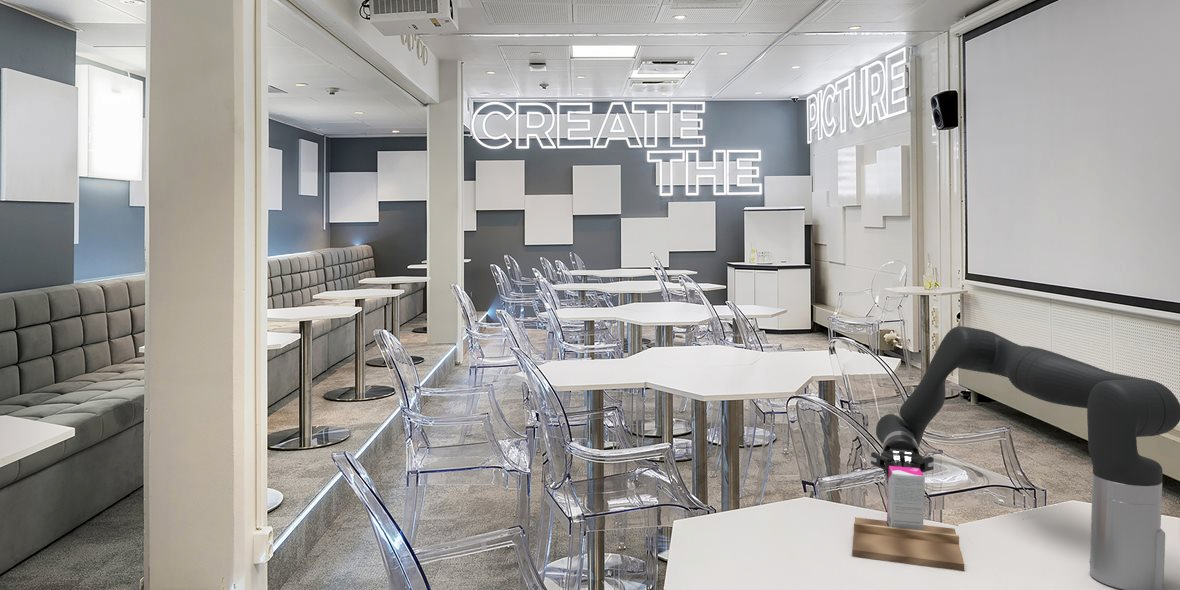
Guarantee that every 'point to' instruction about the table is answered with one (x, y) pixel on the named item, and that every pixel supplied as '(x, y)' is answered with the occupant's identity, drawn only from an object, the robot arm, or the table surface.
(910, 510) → the supplement box
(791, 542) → the table surface
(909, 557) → the tan wooden board
